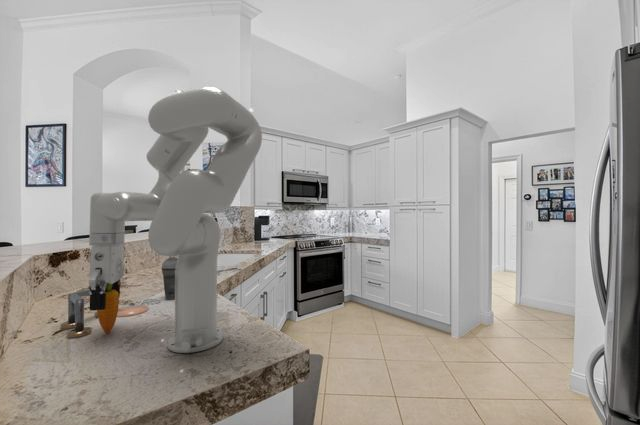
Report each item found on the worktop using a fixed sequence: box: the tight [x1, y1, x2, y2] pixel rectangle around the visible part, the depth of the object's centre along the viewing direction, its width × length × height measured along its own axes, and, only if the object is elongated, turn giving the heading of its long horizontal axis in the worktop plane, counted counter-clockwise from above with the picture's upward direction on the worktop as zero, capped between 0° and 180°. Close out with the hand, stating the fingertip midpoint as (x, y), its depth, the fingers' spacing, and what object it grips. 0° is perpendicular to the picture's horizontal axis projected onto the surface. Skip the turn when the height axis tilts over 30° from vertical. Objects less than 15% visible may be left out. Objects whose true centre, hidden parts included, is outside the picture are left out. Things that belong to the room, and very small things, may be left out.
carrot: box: [96, 283, 120, 335], centre depth 76 cm, size 5×5×15 cm
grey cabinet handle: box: [60, 286, 102, 339], centre depth 83 cm, size 21×10×9 cm, turn 18°
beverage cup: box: [160, 256, 178, 301], centre depth 110 cm, size 7×7×20 cm
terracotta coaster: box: [117, 304, 150, 318], centre depth 94 cm, size 10×10×1 cm
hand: (105, 303), depth 77 cm, fingers open, 9 cm apart
